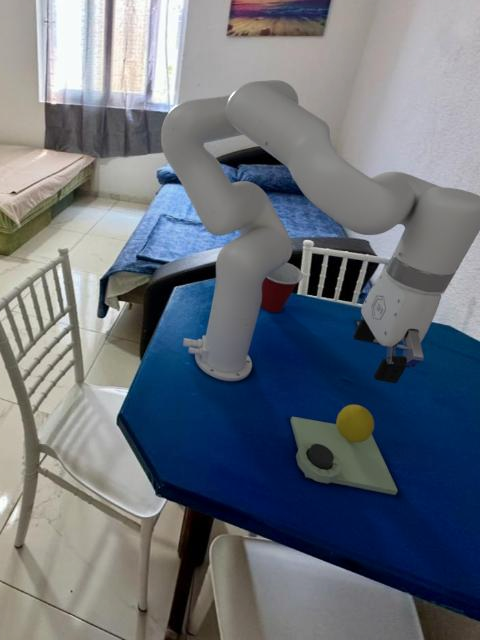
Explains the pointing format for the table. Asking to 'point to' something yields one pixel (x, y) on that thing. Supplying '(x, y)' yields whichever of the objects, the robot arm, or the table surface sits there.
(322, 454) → the button
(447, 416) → the table surface
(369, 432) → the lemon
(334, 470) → the scale
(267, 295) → the plastic cup
